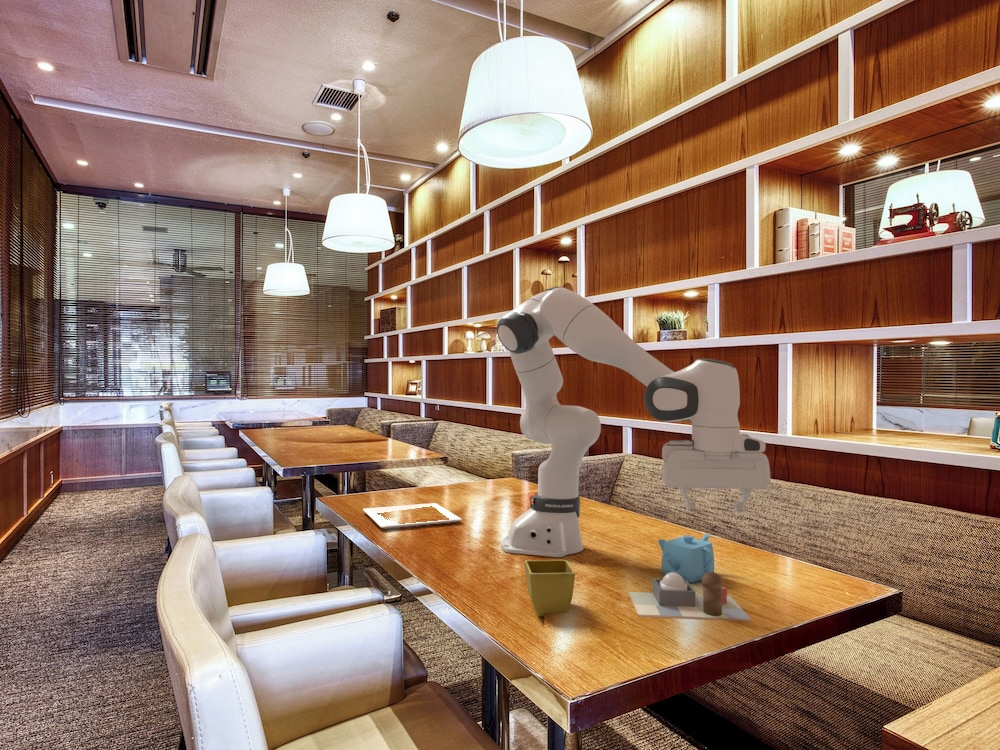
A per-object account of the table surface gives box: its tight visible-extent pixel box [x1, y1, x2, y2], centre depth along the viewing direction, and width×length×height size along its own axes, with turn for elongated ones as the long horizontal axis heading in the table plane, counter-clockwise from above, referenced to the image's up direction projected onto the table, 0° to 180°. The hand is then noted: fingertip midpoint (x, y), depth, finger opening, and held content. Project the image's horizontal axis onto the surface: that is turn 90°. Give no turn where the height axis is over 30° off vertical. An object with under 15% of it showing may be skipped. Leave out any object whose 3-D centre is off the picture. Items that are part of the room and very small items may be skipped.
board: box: [628, 578, 754, 622], centre depth 115 cm, size 21×13×4 cm, turn 86°
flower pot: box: [524, 559, 576, 617], centre depth 114 cm, size 9×9×9 cm
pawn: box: [701, 571, 724, 616], centre depth 112 cm, size 4×4×8 cm
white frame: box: [362, 502, 463, 530], centre depth 190 cm, size 26×26×2 cm
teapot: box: [657, 533, 715, 584], centre depth 134 cm, size 18×14×10 cm
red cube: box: [722, 585, 728, 604], centre depth 118 cm, size 3×3×3 cm
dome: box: [660, 572, 687, 591], centre depth 118 cm, size 5×5×5 cm
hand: (714, 510), depth 114 cm, fingers open, 8 cm apart
